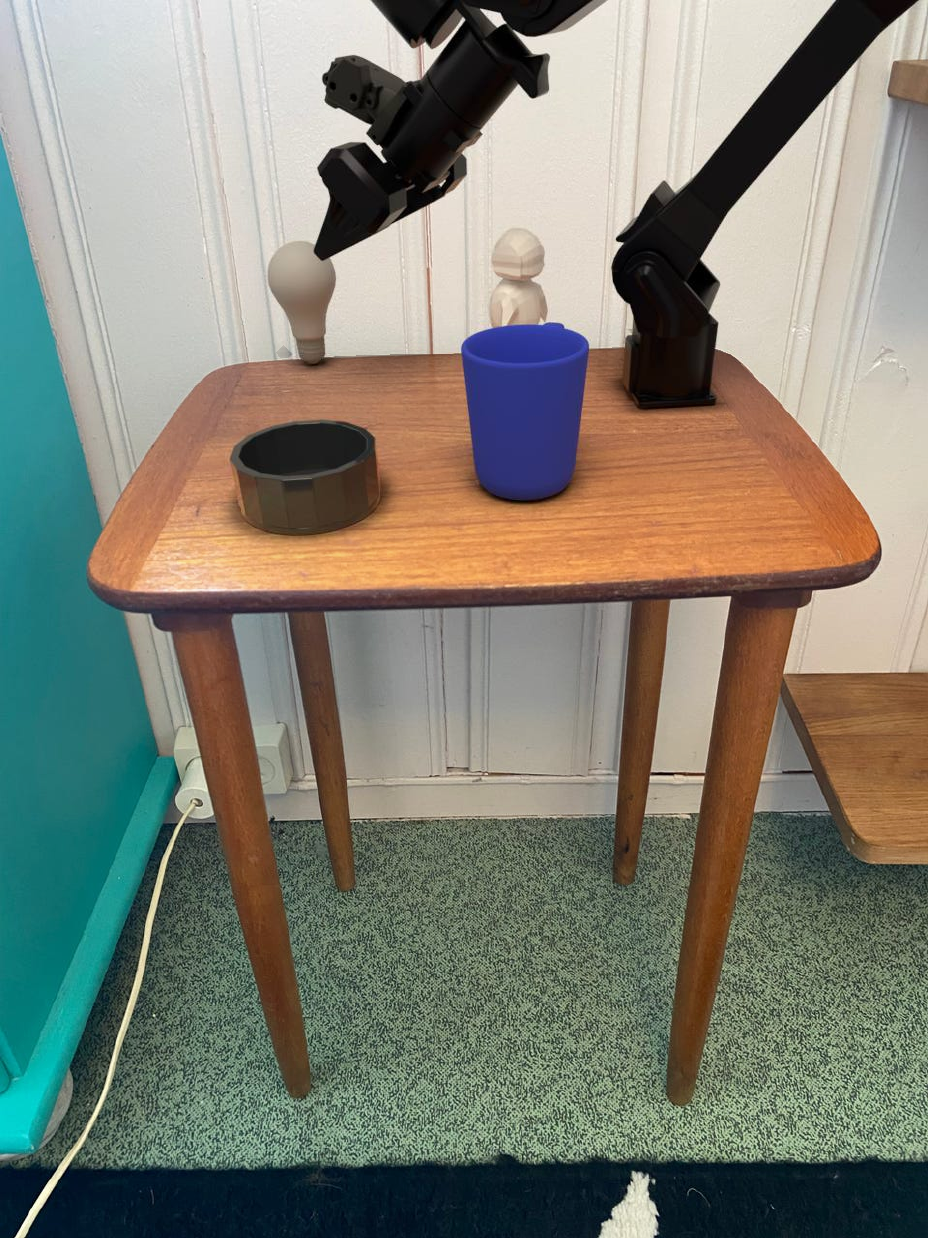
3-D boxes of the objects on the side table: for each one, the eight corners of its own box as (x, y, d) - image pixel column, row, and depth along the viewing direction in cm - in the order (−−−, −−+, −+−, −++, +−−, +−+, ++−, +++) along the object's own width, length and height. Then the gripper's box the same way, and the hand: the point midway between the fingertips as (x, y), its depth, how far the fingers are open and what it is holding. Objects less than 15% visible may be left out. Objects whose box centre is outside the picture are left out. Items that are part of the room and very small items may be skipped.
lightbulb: (351, 352, 89) (338, 233, 83) (337, 374, 84) (323, 249, 78) (290, 352, 90) (272, 234, 84) (273, 374, 85) (253, 250, 79)
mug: (605, 445, 69) (613, 311, 63) (567, 518, 60) (572, 369, 54) (502, 434, 71) (500, 304, 66) (450, 503, 62) (442, 358, 56)
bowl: (381, 467, 67) (376, 415, 65) (379, 530, 59) (373, 474, 57) (250, 475, 67) (241, 423, 65) (231, 539, 59) (220, 483, 57)
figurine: (514, 383, 80) (513, 240, 74) (470, 375, 83) (466, 234, 76) (559, 357, 86) (562, 220, 79) (517, 349, 88) (516, 216, 81)
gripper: (426, 7, 76) (323, 153, 85) (326, 15, 61) (215, 190, 71) (517, 115, 78) (406, 246, 87) (441, 148, 63) (319, 300, 73)
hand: (341, 243), depth 79 cm, fingers open, 9 cm apart
